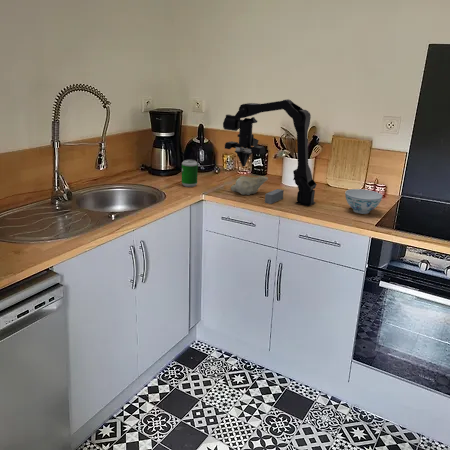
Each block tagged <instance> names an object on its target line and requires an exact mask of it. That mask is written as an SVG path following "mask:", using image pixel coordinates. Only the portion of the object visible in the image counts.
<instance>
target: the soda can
mask: <svg viewBox="0 0 450 450" xmlns="http://www.w3.org/2000/svg"><path fill="white" fill-rule="evenodd" d="M198 167H199V165H198V162H197V161H196V160H195V159H184V160H183V161H182V162H181V184H182V185H183V186H184V187H186V188H193V187H196V186H197V185H198V170H199V169H198Z"/></svg>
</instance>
